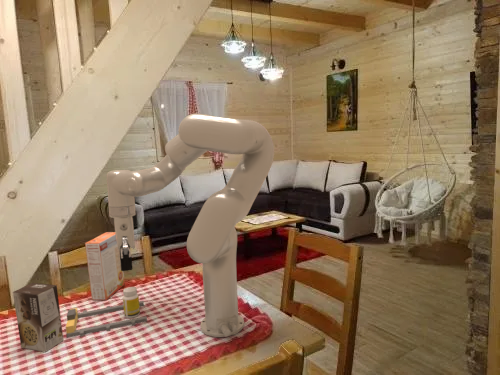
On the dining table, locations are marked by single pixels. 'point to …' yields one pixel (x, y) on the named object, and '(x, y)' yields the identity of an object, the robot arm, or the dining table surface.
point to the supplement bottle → (131, 302)
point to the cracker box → (104, 266)
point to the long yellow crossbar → (71, 320)
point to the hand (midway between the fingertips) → (126, 264)
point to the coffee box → (38, 316)
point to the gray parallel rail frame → (106, 326)
